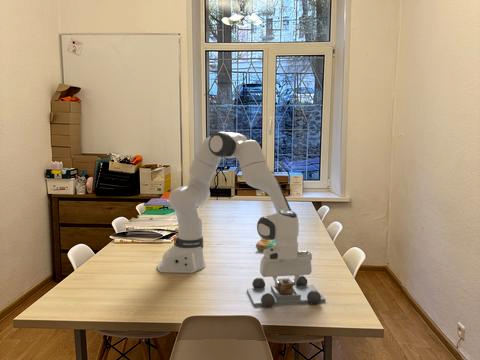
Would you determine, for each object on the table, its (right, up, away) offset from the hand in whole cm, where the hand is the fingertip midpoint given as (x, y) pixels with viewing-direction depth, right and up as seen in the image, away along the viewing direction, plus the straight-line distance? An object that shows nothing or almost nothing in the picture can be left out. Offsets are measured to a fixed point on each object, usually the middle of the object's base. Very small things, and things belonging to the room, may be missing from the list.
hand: (285, 285), depth 166 cm
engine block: (0, -3, 0) cm, 3 cm away
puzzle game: (-1, +4, +66) cm, 66 cm away
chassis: (0, -4, +1) cm, 4 cm away
